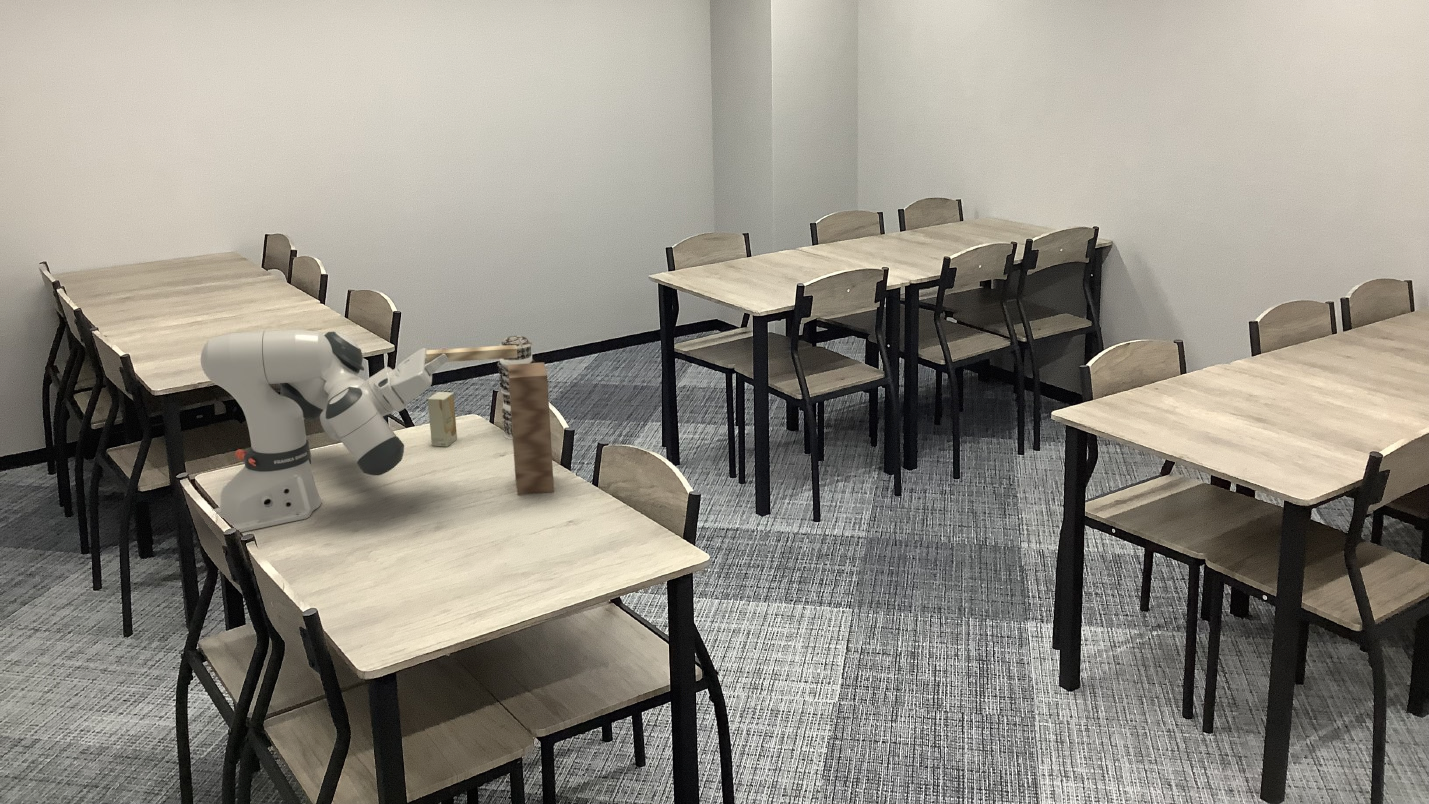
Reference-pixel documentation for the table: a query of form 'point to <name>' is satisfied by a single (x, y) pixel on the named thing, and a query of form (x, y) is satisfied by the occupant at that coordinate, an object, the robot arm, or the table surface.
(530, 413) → the pedestal
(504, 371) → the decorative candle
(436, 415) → the skincare box
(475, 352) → the slat
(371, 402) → the robot arm
